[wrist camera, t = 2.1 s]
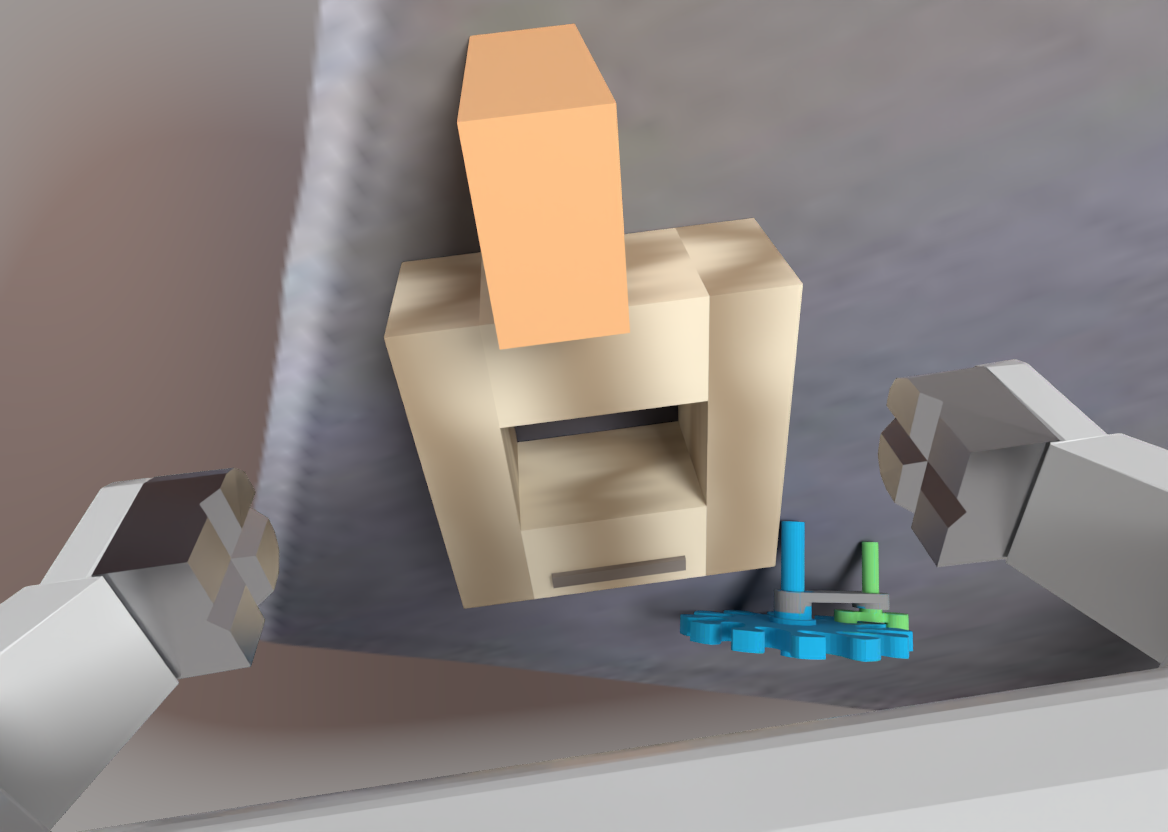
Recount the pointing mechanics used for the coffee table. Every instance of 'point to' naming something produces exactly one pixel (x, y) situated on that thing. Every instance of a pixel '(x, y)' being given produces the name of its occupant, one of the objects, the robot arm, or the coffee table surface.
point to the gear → (794, 618)
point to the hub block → (596, 387)
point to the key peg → (545, 186)
